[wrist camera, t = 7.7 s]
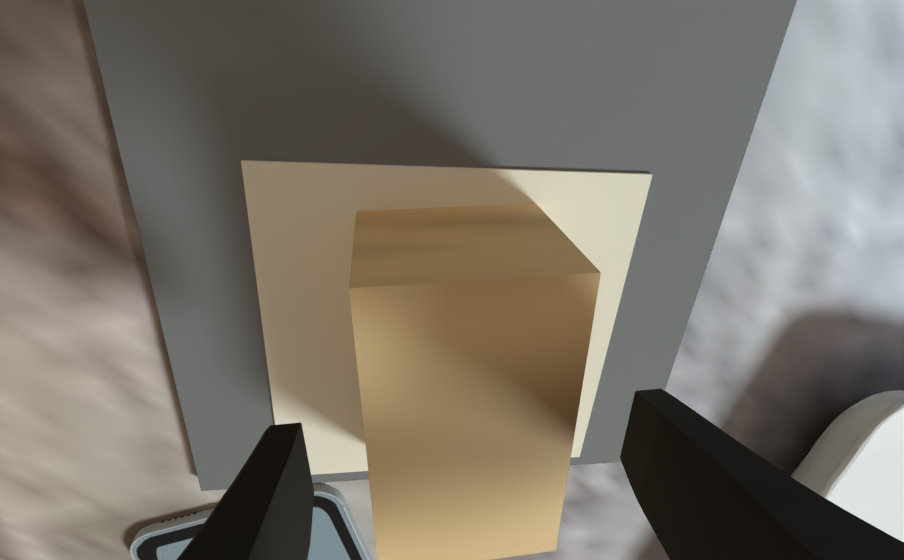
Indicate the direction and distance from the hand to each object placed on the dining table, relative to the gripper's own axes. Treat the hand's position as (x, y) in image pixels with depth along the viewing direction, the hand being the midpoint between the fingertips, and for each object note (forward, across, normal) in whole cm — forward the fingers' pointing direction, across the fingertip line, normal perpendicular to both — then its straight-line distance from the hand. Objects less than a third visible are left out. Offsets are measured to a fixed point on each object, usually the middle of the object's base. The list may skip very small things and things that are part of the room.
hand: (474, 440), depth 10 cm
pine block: (+4, 0, 0) cm, 4 cm away
